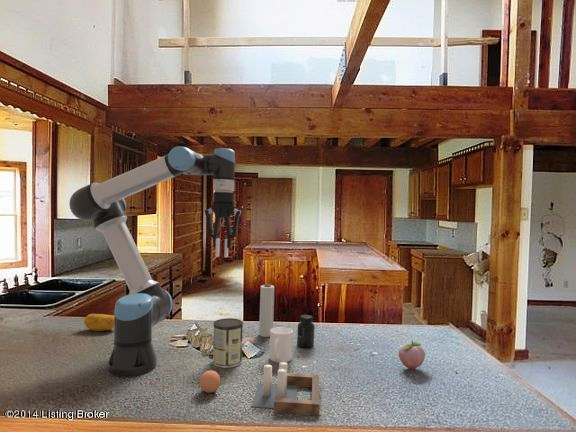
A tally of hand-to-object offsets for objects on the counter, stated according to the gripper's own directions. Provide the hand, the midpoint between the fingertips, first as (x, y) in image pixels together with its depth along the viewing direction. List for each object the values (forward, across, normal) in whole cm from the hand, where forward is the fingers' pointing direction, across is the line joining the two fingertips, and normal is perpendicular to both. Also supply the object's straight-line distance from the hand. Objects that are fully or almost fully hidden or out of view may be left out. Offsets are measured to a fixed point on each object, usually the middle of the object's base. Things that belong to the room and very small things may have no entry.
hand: (221, 256), depth 136 cm
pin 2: (+37, +25, -28) cm, 53 cm away
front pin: (+37, +21, -26) cm, 50 cm away
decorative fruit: (+37, +68, -1) cm, 77 cm away
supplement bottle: (+37, +31, +16) cm, 51 cm away
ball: (+34, +4, -26) cm, 43 cm away
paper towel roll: (+37, +14, +27) cm, 48 cm away
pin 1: (+37, +25, -24) cm, 50 cm away
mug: (+37, +22, 0) cm, 43 cm away
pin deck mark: (+37, +24, -26) cm, 51 cm away
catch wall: (+37, +30, -26) cm, 54 cm away
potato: (+37, -57, +21) cm, 71 cm away
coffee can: (+37, +4, -4) cm, 37 cm away
